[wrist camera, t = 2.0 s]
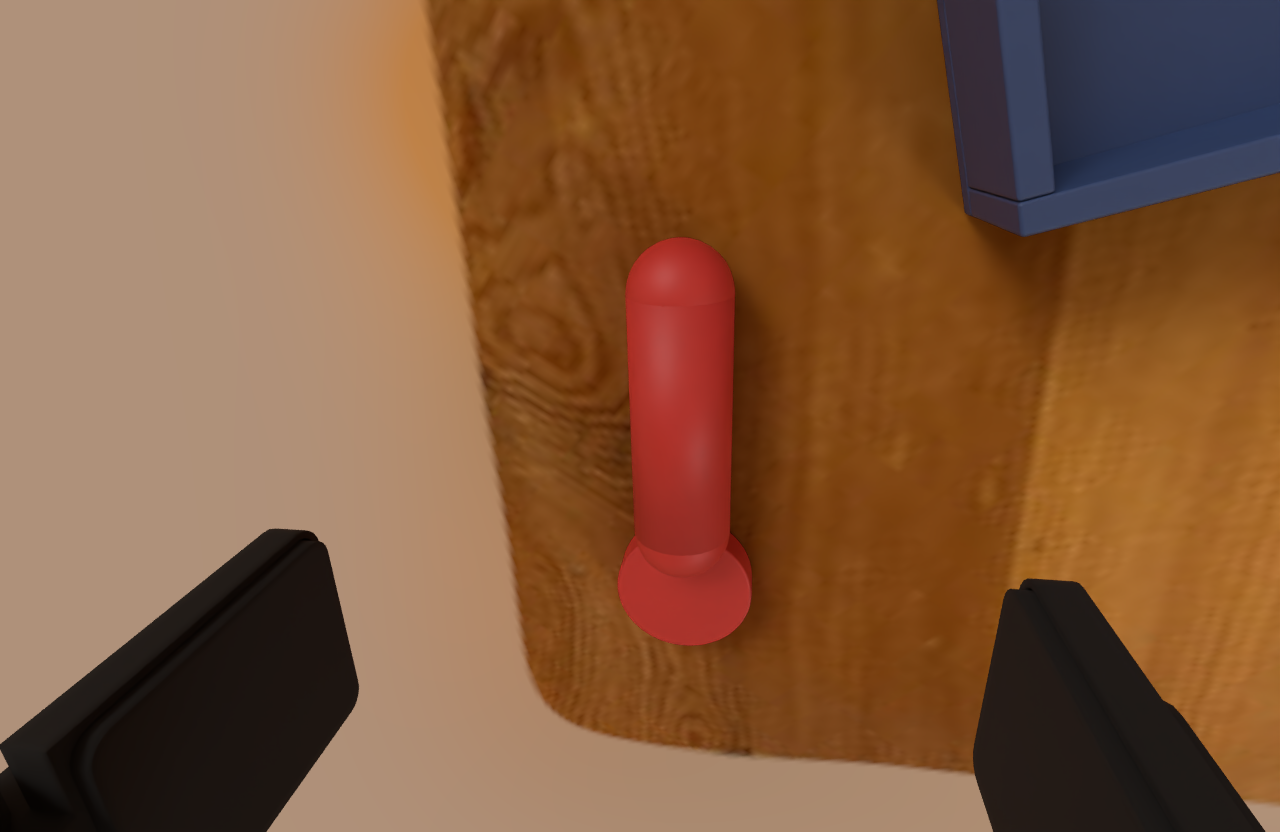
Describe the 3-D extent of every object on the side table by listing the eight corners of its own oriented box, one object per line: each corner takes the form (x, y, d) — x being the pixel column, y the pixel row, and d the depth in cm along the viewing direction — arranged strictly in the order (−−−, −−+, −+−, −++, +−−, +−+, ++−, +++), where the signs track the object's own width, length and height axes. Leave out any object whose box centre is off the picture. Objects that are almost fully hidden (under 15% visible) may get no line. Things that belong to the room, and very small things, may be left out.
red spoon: (607, 230, 16) (584, 247, 14) (764, 229, 16) (765, 245, 13) (626, 618, 20) (610, 677, 18) (749, 627, 20) (749, 689, 18)
